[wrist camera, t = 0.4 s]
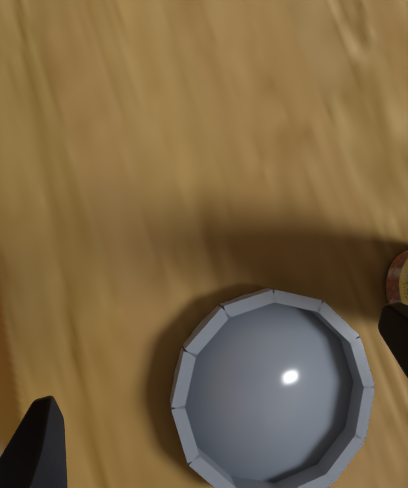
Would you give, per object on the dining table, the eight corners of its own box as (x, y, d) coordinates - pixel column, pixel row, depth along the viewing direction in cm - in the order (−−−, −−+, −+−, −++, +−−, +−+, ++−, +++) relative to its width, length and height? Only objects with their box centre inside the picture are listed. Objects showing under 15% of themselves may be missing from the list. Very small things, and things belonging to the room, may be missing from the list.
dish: (390, 375, 26) (408, 383, 25) (274, 528, 24) (285, 549, 23) (262, 251, 25) (271, 250, 24) (129, 401, 23) (128, 413, 21)
